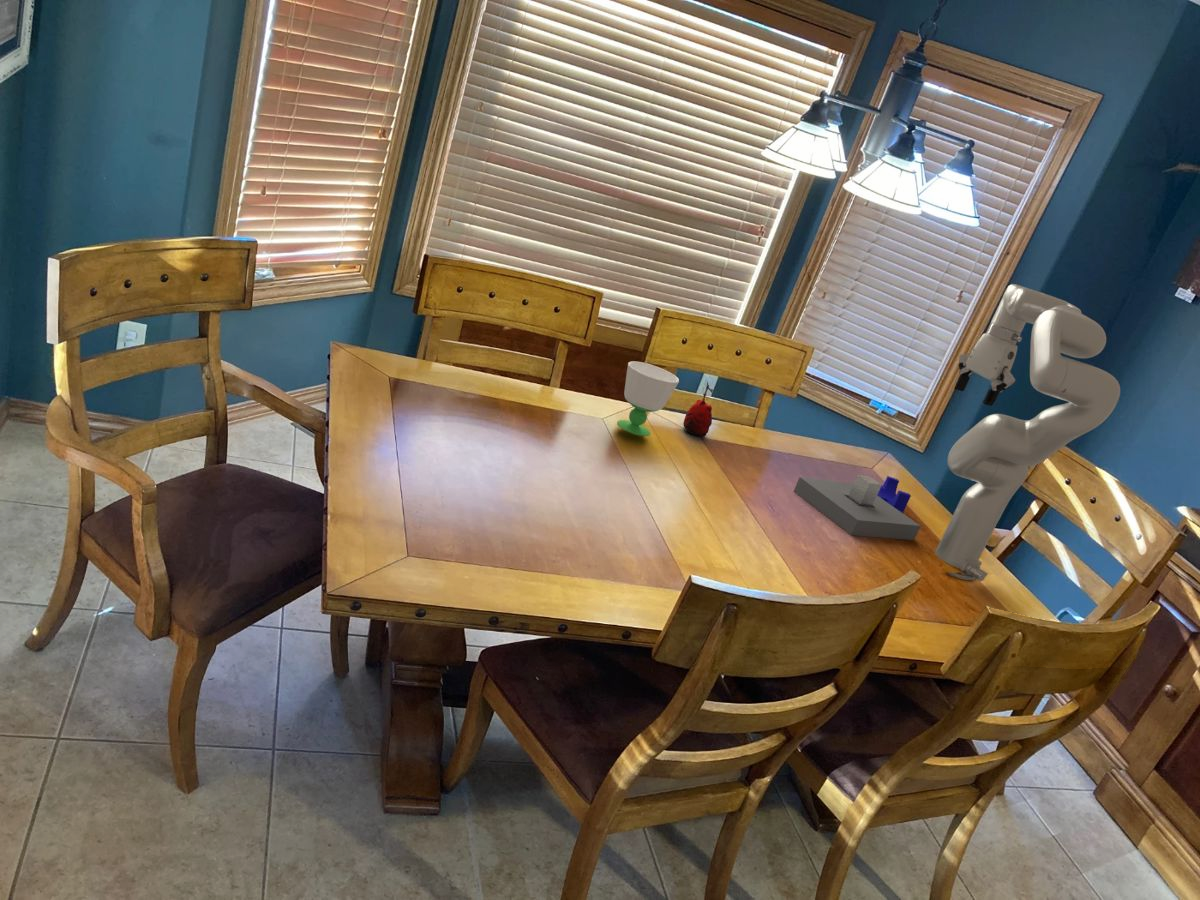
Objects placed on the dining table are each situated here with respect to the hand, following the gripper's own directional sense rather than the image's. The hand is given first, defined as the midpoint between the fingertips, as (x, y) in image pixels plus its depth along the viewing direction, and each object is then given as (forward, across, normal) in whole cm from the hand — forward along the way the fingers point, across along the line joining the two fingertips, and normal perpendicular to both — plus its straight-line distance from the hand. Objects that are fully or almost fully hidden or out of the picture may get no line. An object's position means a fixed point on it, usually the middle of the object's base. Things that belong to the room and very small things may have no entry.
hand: (972, 397), depth 241 cm
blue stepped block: (+35, +5, +6) cm, 36 cm away
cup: (+34, +36, +71) cm, 87 cm away
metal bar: (+34, -4, +28) cm, 44 cm away
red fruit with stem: (+34, +40, +49) cm, 72 cm away
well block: (+34, -4, +28) cm, 44 cm away
